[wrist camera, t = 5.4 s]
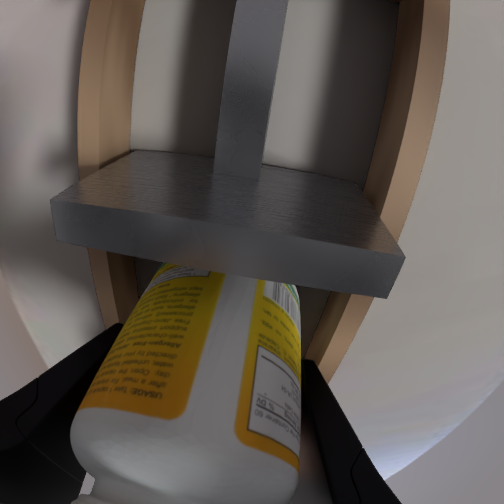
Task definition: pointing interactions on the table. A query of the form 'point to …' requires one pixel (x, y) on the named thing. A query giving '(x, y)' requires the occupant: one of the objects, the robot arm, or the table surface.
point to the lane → (379, 176)
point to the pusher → (236, 194)
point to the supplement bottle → (197, 396)
